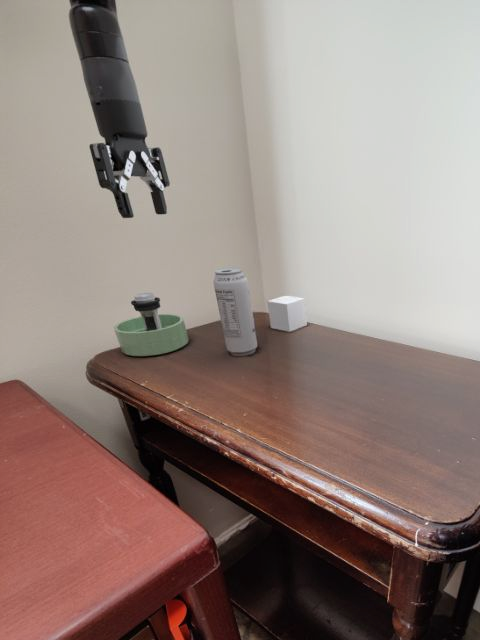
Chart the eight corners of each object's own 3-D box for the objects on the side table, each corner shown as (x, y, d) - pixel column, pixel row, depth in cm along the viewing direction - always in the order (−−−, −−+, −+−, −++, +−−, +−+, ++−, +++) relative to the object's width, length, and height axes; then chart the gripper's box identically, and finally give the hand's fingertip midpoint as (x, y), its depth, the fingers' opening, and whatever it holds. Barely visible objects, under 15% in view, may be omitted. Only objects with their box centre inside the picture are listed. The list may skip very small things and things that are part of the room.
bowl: (108, 357, 79) (99, 332, 76) (145, 336, 89) (138, 313, 87) (169, 358, 77) (162, 333, 74) (199, 336, 87) (194, 314, 85)
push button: (134, 348, 82) (117, 297, 76) (150, 339, 86) (135, 291, 80) (161, 349, 80) (146, 298, 74) (177, 341, 84) (163, 292, 79)
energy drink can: (264, 351, 78) (252, 269, 70) (237, 359, 75) (221, 275, 66) (248, 344, 82) (234, 266, 74) (222, 352, 79) (205, 271, 70)
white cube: (289, 332, 88) (286, 304, 85) (270, 327, 91) (267, 301, 88) (307, 325, 92) (305, 298, 89) (288, 321, 95) (285, 295, 92)
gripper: (130, 109, 71) (156, 213, 80) (59, 96, 60) (99, 219, 69) (163, 104, 68) (186, 213, 77) (96, 90, 58) (131, 218, 67)
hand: (145, 216), depth 73 cm, fingers open, 8 cm apart
